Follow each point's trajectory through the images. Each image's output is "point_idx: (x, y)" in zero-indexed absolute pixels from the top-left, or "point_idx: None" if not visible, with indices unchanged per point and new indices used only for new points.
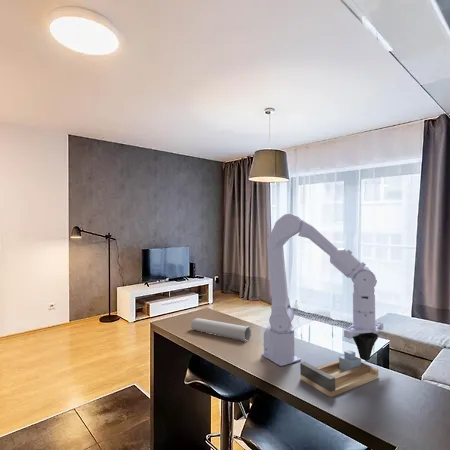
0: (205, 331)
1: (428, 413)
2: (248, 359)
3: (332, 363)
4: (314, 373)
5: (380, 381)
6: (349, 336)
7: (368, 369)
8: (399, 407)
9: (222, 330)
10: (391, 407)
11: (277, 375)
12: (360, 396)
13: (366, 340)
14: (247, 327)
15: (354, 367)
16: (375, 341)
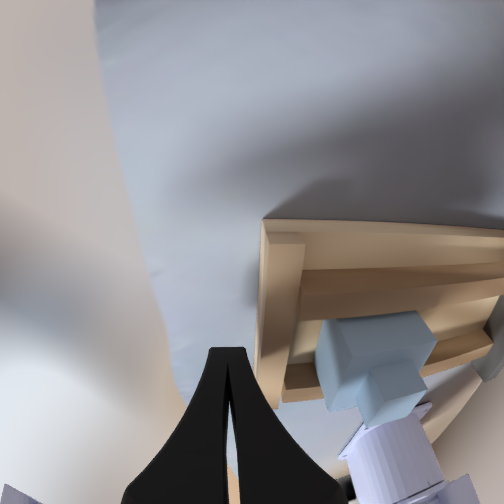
0: None
1: None
2: (428, 427)
3: None
4: None
5: (293, 186)
6: (471, 487)
7: (315, 281)
8: (445, 20)
9: None
10: (467, 47)
11: (472, 369)
12: (483, 171)
13: (341, 492)
14: (350, 501)
15: (396, 318)
16: (155, 462)
